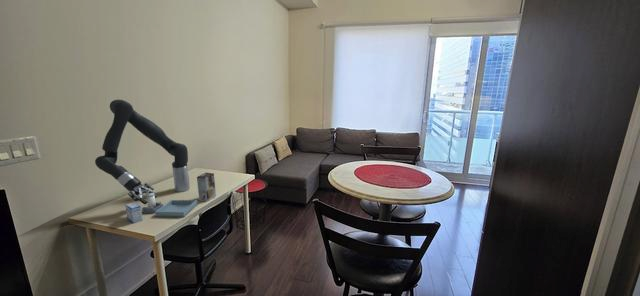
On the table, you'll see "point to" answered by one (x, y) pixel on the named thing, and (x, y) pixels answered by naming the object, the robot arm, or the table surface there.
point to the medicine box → (134, 212)
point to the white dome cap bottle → (151, 200)
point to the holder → (152, 208)
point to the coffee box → (206, 186)
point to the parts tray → (176, 208)
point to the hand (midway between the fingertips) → (151, 200)
